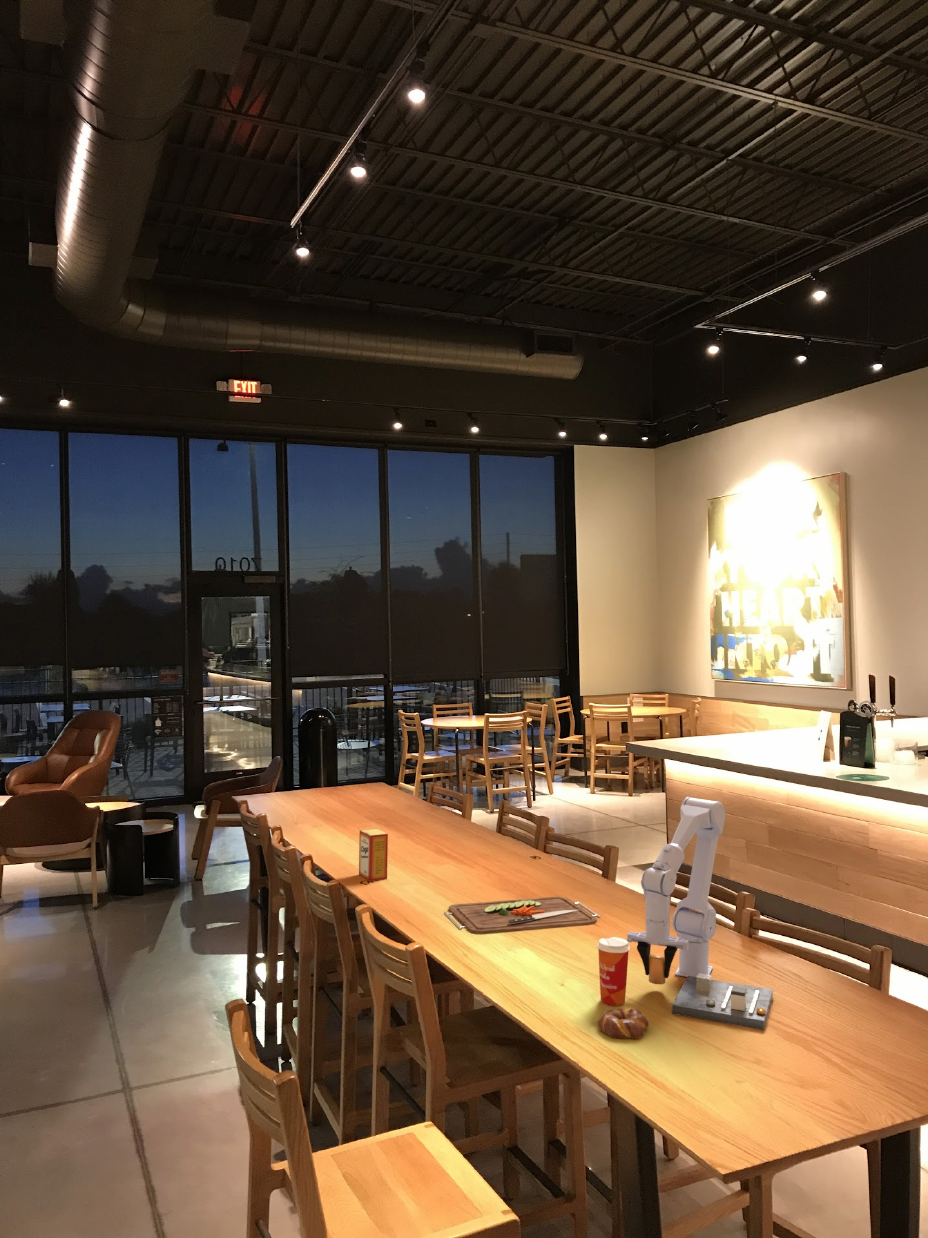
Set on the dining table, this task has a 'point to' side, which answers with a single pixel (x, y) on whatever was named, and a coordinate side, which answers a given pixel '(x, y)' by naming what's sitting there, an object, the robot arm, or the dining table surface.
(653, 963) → the cap
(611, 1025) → the pretzel
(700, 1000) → the panel
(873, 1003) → the dining table surface
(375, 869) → the baking soda box
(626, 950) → the paper cup
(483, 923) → the chopping board
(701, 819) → the robot arm
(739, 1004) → the lever
